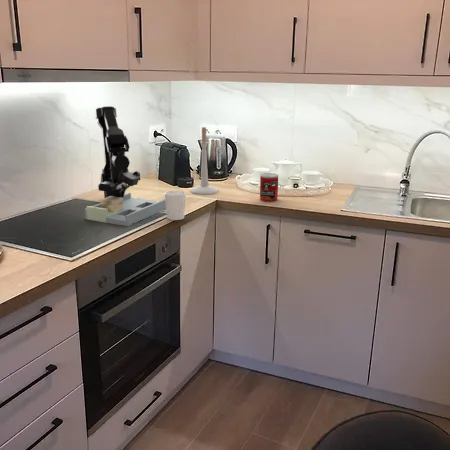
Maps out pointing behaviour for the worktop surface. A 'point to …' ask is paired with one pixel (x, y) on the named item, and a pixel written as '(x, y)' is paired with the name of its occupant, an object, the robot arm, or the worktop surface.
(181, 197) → the white cup
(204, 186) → the candlestick
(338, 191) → the worktop surface
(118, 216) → the board
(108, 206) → the maple block
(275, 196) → the canned food
